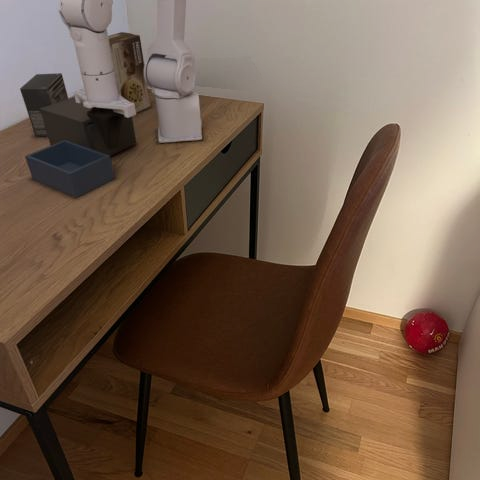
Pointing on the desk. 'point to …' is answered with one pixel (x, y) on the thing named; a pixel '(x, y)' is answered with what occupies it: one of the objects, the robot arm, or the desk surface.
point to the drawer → (125, 139)
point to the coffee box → (129, 69)
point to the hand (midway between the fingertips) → (113, 147)
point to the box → (70, 168)
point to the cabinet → (68, 123)
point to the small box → (42, 97)
